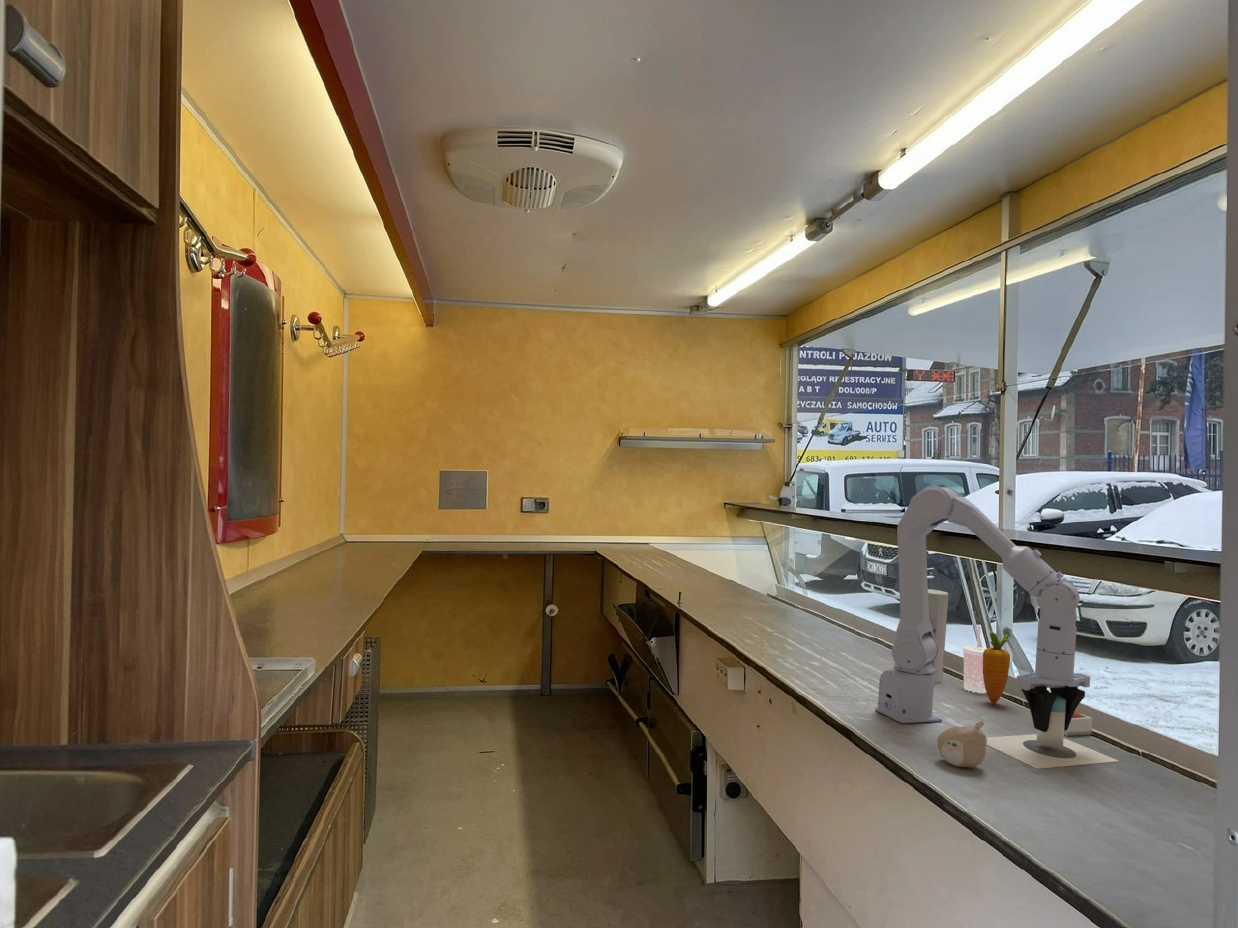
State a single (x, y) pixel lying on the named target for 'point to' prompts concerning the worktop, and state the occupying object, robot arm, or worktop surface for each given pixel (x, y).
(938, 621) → the spray can
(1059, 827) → the worktop surface
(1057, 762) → the paper sheet
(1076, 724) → the button housing
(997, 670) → the carrot
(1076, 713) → the button
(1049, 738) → the marker
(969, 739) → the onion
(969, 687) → the beverage cup
